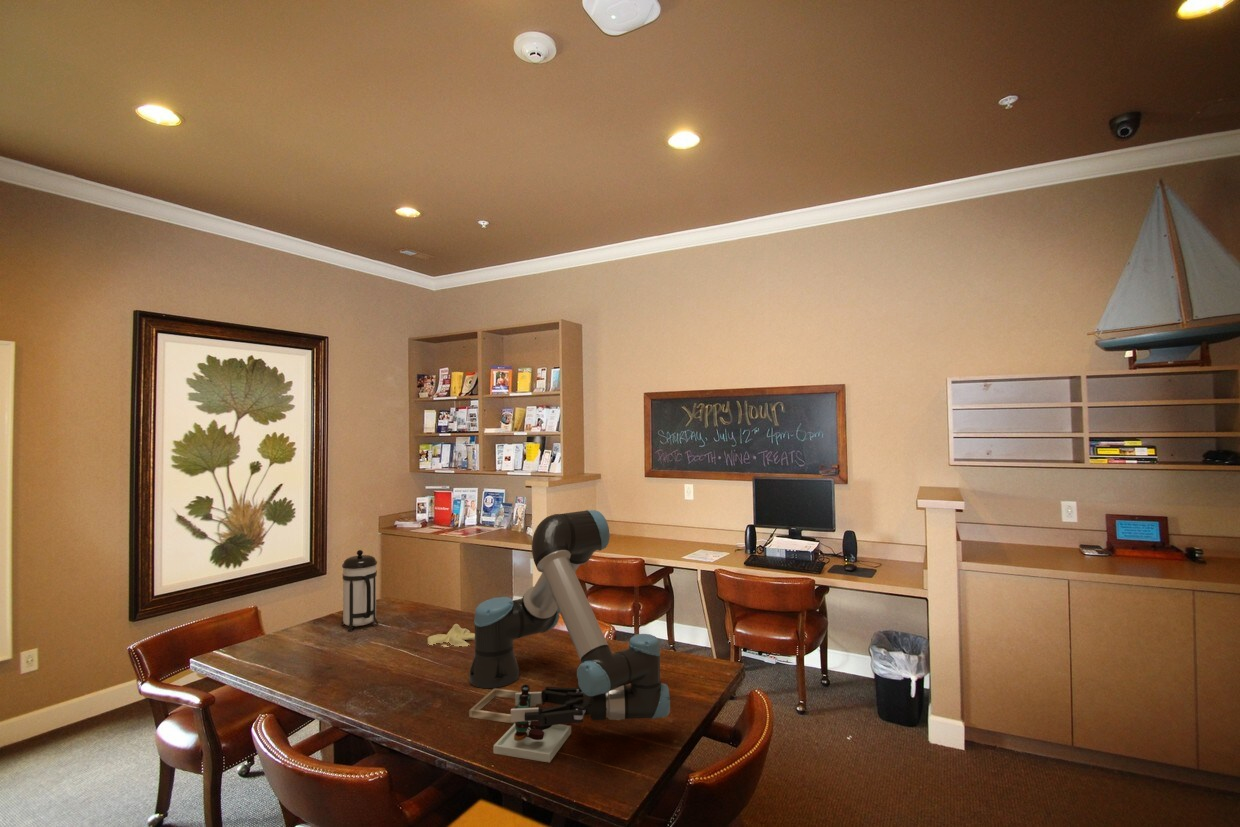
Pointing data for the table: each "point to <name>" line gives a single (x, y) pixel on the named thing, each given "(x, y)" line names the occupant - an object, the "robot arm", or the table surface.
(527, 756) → the tray
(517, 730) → the binoculars
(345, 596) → the coffee press
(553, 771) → the table surface
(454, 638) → the cloth
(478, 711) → the holder
